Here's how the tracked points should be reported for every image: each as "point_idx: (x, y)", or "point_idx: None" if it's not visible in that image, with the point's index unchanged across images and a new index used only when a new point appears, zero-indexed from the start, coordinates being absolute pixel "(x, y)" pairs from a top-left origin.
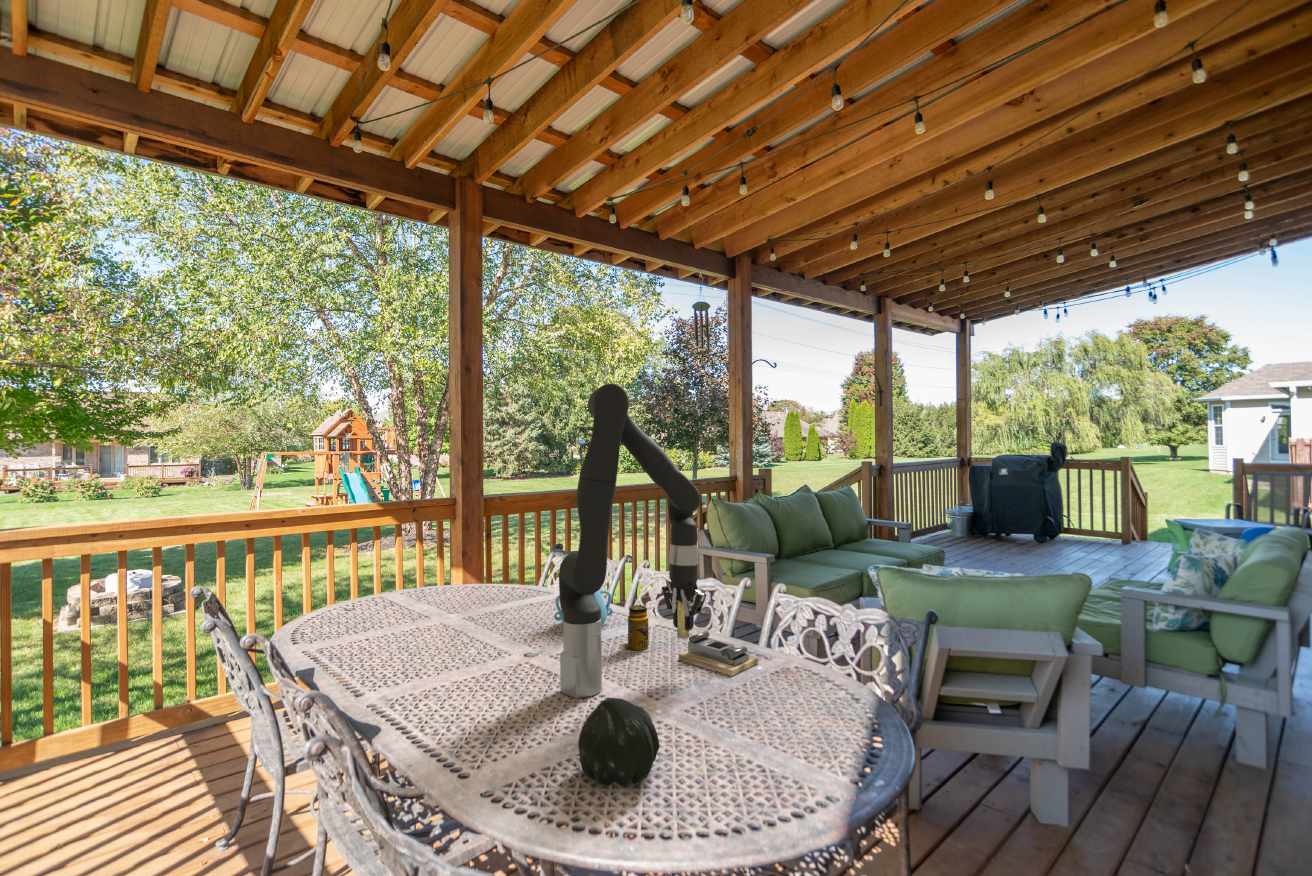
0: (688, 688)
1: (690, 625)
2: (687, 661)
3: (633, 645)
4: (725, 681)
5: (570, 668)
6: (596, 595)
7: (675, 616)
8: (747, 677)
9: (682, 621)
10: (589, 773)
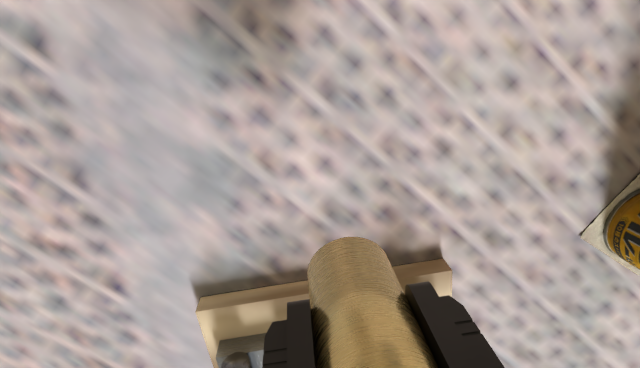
0: (203, 108)
1: (265, 351)
2: (403, 267)
3: None
4: (177, 255)
5: None
6: None
7: (451, 355)
8: (163, 326)
9: (339, 341)
10: None
